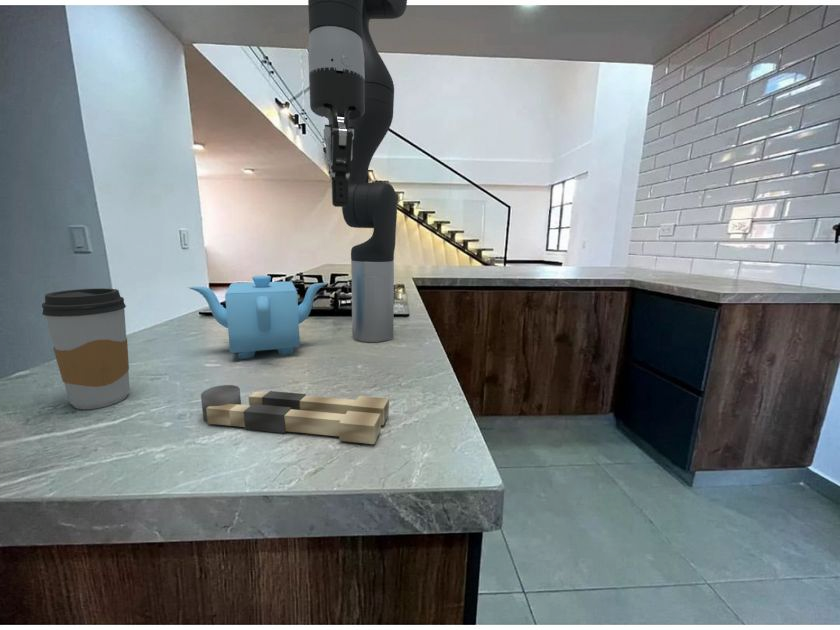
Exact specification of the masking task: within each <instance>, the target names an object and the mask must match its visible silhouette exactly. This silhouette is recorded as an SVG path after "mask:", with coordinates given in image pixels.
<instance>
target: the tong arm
mask: <svg viewBox="0 0 840 630" xmlns="http://www.w3.org/2000/svg"><path fill="white" fill-rule="evenodd" d="M389 403H390V398H388V397H379V396H377V397H376V396H368V395H366V396H365V395H358V397H356V398H355V399H349V398H336V397H327V396H326V397H323V396H313V395H312V396H311V395H307V394H306V393H300V392H299V393H297V392H296V393H295V392H287V391H275V390H269V391H268V392H265V391H254V392H252V393H251V394H250V395H248V405H249V406H251V405H253V404H259V405H270V406H281V407H291V408H292V409H293V410H304V411H315V412H327V413H338V414H346V413H347V411H355V412H367V413H378V414H380V426H383V425H384V424H385V422H386V420H387V418H388V416H389V413H390V409H389V408H390V404H389Z"/></svg>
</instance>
